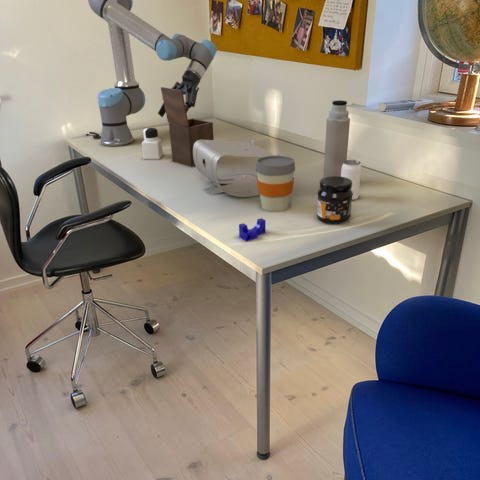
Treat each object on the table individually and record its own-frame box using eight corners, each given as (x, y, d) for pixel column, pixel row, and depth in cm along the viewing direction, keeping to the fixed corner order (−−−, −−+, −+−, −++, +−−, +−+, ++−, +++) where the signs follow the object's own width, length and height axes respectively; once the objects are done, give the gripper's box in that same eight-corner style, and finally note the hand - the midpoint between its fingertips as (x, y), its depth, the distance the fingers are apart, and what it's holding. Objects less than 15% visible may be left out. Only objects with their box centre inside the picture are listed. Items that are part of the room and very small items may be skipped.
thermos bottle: (325, 178, 196) (330, 98, 181) (346, 179, 193) (353, 99, 178) (321, 184, 189) (325, 102, 174) (342, 186, 187) (349, 103, 172)
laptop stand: (194, 182, 196) (191, 140, 187) (251, 173, 203) (250, 132, 195) (218, 203, 176) (216, 157, 168) (280, 192, 183) (281, 147, 175)
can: (354, 202, 173) (357, 166, 167) (336, 198, 176) (338, 163, 170) (361, 196, 178) (364, 161, 171) (343, 193, 181) (346, 158, 174)
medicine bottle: (163, 154, 230) (160, 126, 223) (159, 159, 224) (156, 130, 217) (147, 154, 230) (144, 126, 224) (143, 159, 224) (139, 130, 218)
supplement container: (310, 221, 160) (312, 183, 153) (324, 210, 167) (326, 173, 161) (342, 227, 155) (346, 188, 149) (355, 216, 163) (359, 178, 156)
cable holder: (246, 241, 149) (245, 228, 147) (239, 237, 151) (238, 224, 149) (268, 234, 153) (268, 221, 150) (261, 230, 155) (261, 218, 153)
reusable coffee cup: (266, 215, 165) (266, 168, 157) (250, 203, 175) (249, 158, 167) (300, 209, 169) (302, 163, 161) (283, 197, 179) (283, 153, 171)
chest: (195, 154, 228) (192, 118, 220) (214, 160, 220) (212, 122, 212) (172, 161, 221) (168, 123, 213) (191, 166, 213) (188, 127, 205)
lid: (162, 87, 204) (160, 87, 204) (182, 90, 196) (180, 90, 196) (169, 122, 213) (167, 122, 212) (189, 126, 205) (187, 127, 204)
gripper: (217, 83, 221) (192, 126, 220) (181, 78, 236) (158, 118, 236) (206, 71, 215) (181, 115, 214) (170, 67, 230) (147, 108, 230)
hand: (169, 117), depth 225 cm, fingers open, 13 cm apart
